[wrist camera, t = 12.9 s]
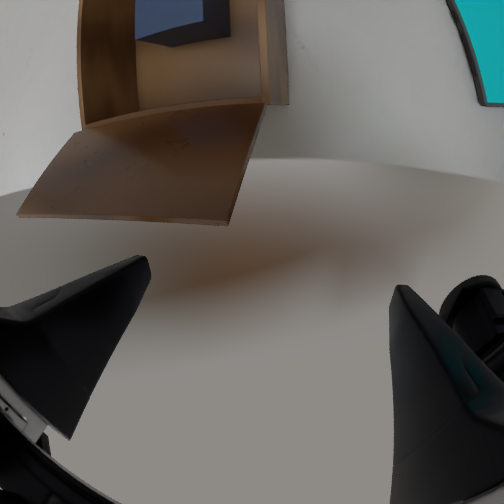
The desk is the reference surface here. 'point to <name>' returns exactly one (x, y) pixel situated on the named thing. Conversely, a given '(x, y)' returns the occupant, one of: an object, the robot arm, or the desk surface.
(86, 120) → the carton
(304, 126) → the desk surface
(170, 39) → the block
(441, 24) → the desk surface
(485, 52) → the smartphone
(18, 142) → the desk surface
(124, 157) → the flap
